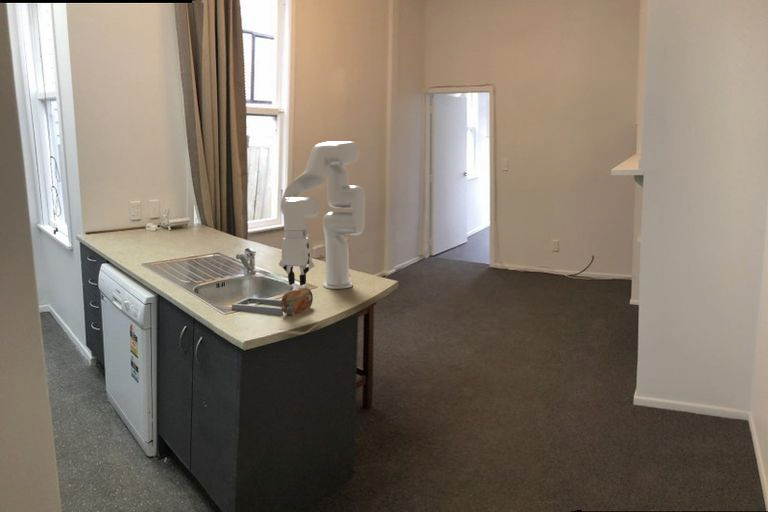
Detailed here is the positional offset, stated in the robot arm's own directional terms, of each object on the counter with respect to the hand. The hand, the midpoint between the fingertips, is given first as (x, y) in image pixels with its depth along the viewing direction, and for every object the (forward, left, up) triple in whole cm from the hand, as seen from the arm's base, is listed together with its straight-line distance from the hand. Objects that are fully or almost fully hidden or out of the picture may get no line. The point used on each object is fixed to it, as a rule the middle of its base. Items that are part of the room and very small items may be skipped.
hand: (297, 283), depth 211 cm
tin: (0, 0, -11) cm, 11 cm away
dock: (+1, -13, -10) cm, 17 cm away
